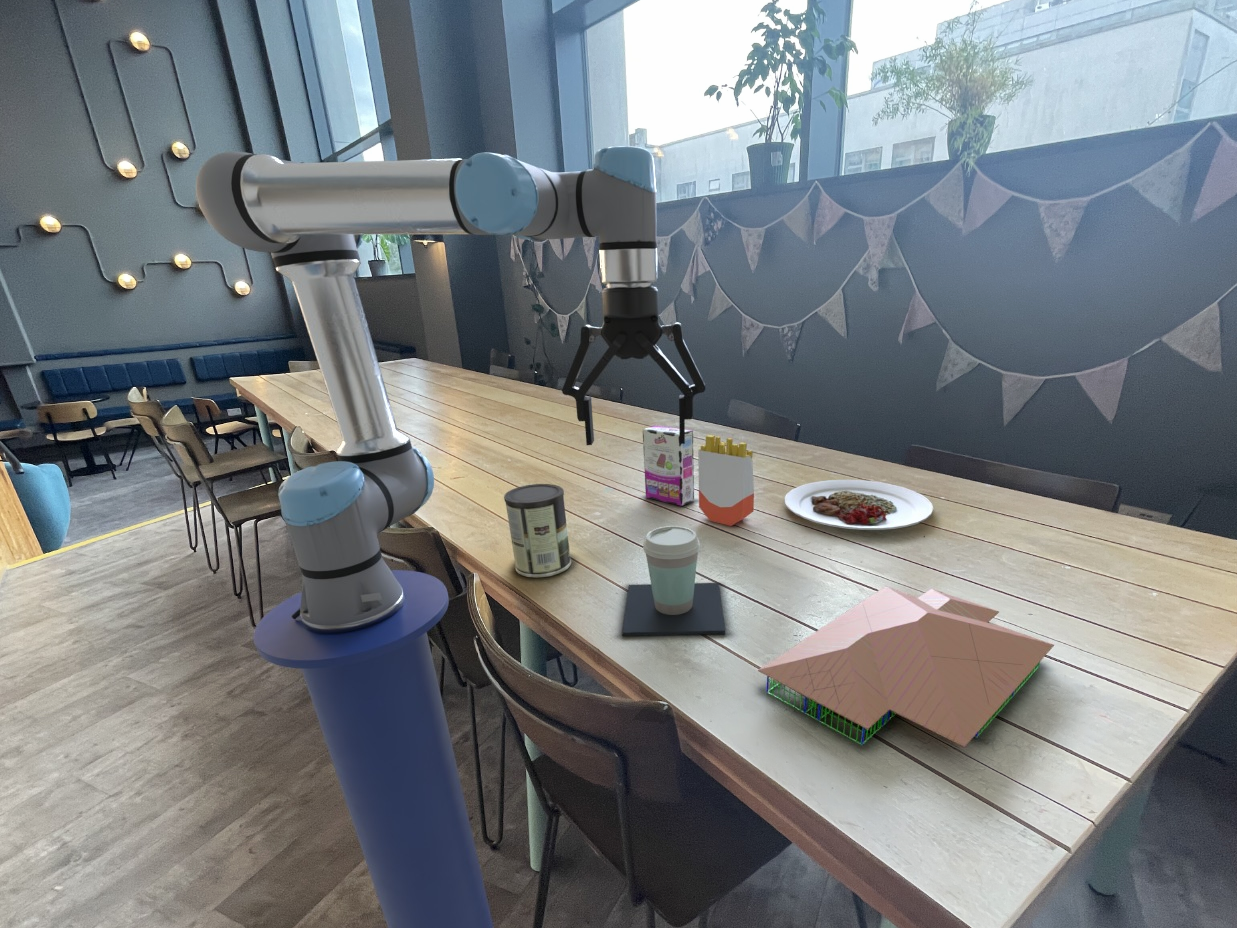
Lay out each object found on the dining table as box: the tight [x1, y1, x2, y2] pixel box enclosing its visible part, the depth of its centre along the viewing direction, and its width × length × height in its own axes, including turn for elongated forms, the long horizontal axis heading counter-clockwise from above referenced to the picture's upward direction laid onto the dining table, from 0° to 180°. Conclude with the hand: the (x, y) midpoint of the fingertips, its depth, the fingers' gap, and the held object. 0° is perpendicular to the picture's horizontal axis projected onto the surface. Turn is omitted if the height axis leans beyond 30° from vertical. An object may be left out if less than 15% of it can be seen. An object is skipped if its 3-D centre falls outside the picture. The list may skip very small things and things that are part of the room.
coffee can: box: [503, 483, 572, 579], centre depth 109 cm, size 10×10×14 cm
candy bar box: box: [642, 425, 695, 507], centre depth 139 cm, size 11×5×16 cm, turn 49°
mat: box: [621, 582, 726, 637], centre depth 96 cm, size 15×15×1 cm
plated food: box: [784, 479, 934, 531], centre depth 131 cm, size 30×30×3 cm
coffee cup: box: [642, 525, 701, 615], centre depth 93 cm, size 8×8×12 cm
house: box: [757, 585, 1055, 748], centre depth 76 cm, size 23×33×8 cm
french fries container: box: [697, 434, 755, 527], centre depth 125 cm, size 5×11×18 cm, turn 50°
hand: (636, 442), depth 90 cm, fingers open, 13 cm apart
